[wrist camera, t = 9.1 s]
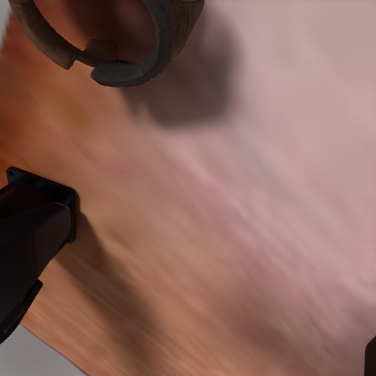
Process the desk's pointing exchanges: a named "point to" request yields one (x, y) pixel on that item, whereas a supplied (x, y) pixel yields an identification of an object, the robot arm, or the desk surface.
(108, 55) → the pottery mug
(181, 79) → the desk surface
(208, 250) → the desk surface
